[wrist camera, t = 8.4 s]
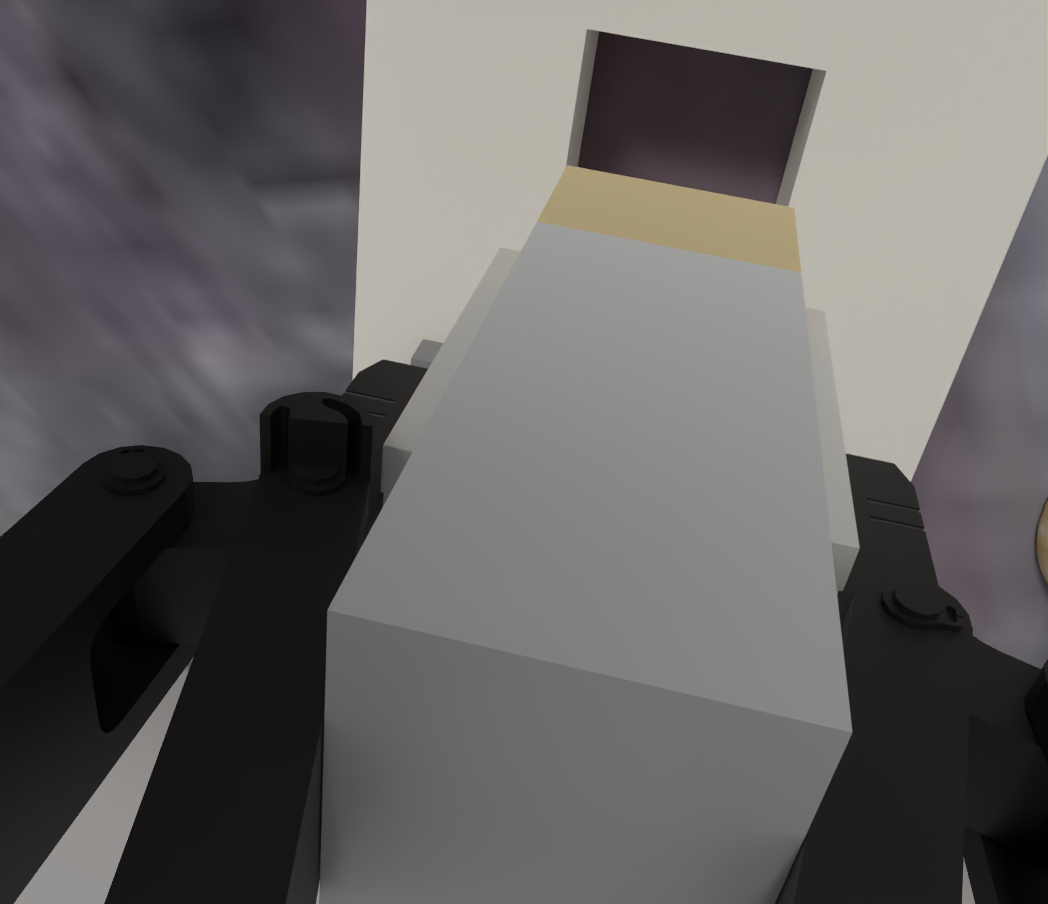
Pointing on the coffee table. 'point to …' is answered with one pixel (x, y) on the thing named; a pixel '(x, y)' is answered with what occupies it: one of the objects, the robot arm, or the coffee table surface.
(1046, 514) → the hand bell
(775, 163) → the coffee table surface
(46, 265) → the coffee table surface
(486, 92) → the socket plate
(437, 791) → the plug
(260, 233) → the coffee table surface
